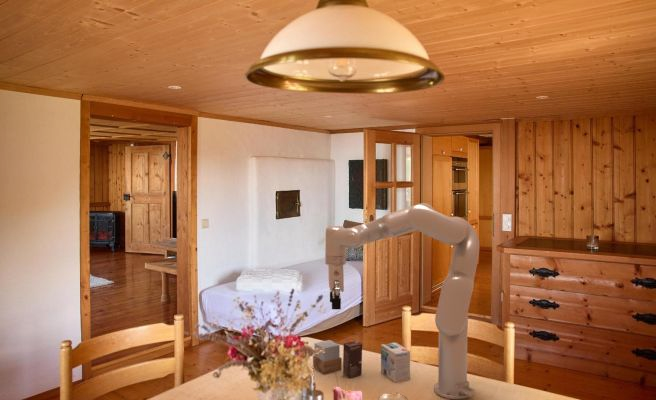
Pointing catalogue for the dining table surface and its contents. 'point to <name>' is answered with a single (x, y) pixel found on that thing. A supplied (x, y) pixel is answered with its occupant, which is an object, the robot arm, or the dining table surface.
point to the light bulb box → (395, 362)
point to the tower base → (327, 365)
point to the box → (352, 359)
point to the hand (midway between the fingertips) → (335, 305)
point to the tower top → (328, 350)
